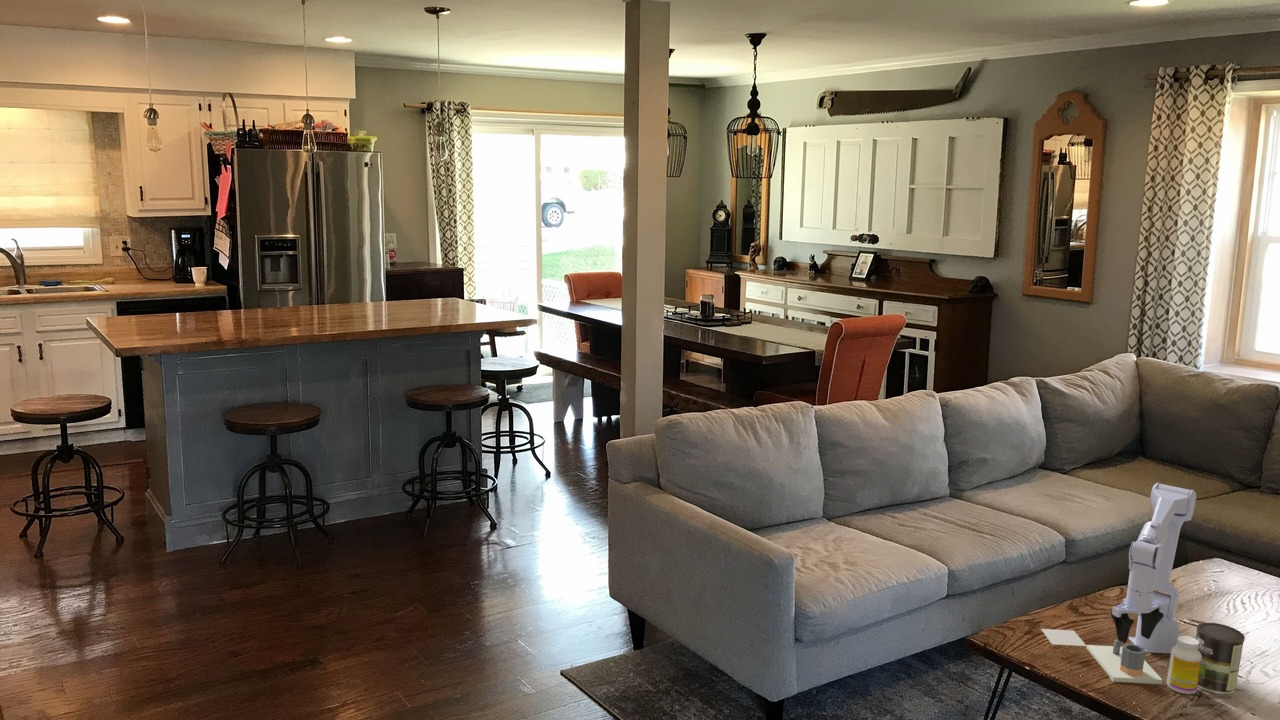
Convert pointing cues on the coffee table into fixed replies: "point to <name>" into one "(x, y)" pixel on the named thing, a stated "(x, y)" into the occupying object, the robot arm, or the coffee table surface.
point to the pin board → (1111, 664)
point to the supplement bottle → (1184, 666)
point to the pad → (1063, 637)
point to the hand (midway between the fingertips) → (1133, 639)
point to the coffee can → (1219, 657)
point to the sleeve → (1132, 659)
